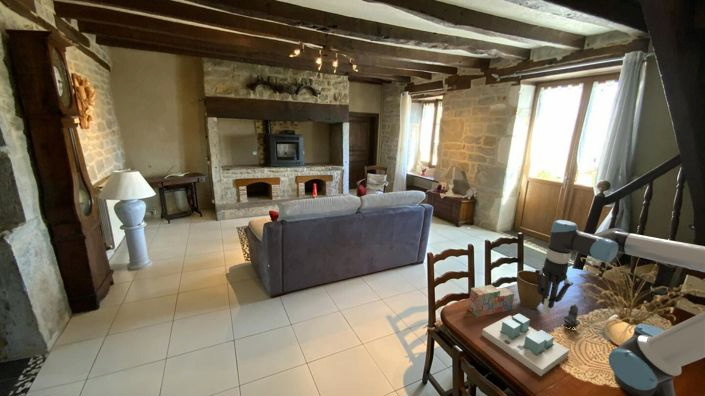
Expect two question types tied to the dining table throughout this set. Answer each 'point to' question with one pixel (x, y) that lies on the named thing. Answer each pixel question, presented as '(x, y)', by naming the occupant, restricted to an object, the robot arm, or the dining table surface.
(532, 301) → the plant pot
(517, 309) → the dining table surface
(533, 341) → the button
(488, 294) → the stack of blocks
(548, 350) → the board
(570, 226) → the robot arm
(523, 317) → the button
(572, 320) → the dark grey tall piece
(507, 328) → the button
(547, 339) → the button
